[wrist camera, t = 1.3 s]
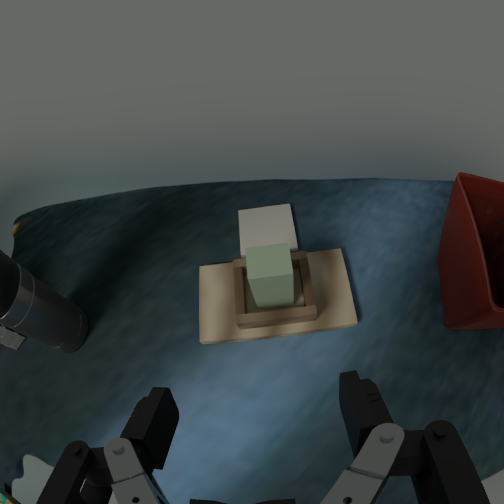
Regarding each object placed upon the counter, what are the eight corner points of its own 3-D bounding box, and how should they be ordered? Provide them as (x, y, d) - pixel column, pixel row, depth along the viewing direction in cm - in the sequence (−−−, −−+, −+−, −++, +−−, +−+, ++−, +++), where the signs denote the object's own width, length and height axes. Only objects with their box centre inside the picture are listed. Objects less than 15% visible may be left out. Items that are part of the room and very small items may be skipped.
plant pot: (498, 248, 40) (542, 192, 26) (513, 345, 31) (578, 308, 17) (418, 239, 44) (455, 169, 30) (427, 350, 35) (491, 311, 20)
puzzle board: (202, 344, 40) (192, 336, 36) (202, 270, 46) (194, 257, 43) (355, 325, 39) (362, 316, 35) (339, 253, 45) (343, 237, 41)
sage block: (257, 309, 40) (247, 279, 32) (255, 283, 42) (245, 248, 34) (293, 304, 40) (293, 273, 31) (289, 279, 42) (288, 242, 34)
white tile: (241, 257, 47) (240, 255, 46) (239, 213, 51) (238, 210, 51) (297, 250, 46) (298, 247, 45) (289, 206, 51) (289, 203, 50)
